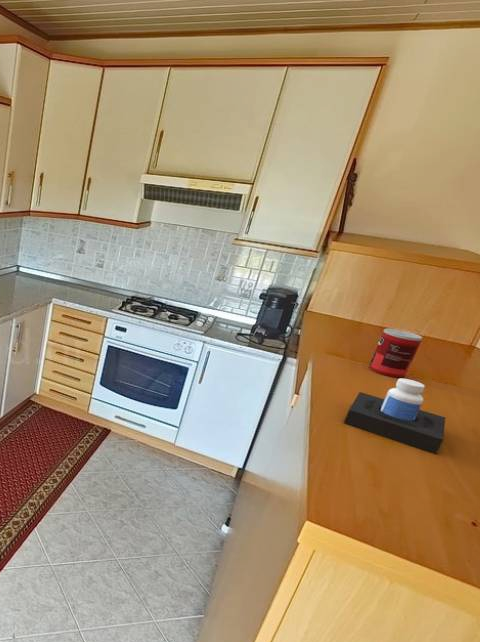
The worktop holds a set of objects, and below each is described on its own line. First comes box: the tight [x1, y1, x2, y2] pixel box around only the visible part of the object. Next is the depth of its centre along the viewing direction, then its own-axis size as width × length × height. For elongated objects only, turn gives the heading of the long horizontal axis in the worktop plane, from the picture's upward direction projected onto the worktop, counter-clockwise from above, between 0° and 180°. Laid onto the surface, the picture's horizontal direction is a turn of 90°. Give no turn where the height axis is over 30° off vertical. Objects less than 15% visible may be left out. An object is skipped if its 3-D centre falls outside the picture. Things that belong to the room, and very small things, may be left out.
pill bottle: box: [380, 377, 426, 421], centre depth 96 cm, size 6×5×10 cm
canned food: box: [369, 327, 423, 379], centre depth 127 cm, size 8×8×11 cm
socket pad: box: [343, 391, 446, 455], centre depth 97 cm, size 14×14×3 cm
